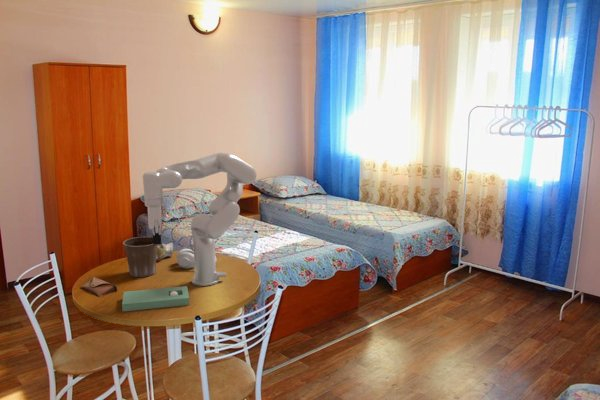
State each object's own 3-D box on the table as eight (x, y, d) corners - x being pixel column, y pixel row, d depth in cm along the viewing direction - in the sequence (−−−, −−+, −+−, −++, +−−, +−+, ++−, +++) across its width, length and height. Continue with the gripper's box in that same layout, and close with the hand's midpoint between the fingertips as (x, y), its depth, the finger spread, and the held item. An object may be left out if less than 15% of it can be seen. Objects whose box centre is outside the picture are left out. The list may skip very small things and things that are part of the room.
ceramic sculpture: (177, 241, 276) (153, 248, 265) (179, 256, 278) (155, 265, 267) (166, 237, 283) (141, 245, 272) (167, 253, 285) (143, 260, 274)
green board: (187, 292, 228) (186, 286, 227) (189, 304, 214) (189, 297, 214) (124, 298, 221) (123, 291, 220) (122, 311, 208) (121, 304, 207)
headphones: (176, 271, 254) (217, 273, 260) (178, 255, 253) (219, 258, 258) (175, 259, 271) (213, 262, 277) (176, 245, 270) (215, 247, 276)
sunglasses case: (77, 287, 233) (83, 273, 235) (90, 291, 238) (96, 277, 240) (100, 297, 222) (106, 282, 224) (113, 300, 228) (119, 286, 229)
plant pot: (154, 279, 244) (152, 246, 241) (120, 279, 244) (117, 245, 241) (164, 268, 260) (162, 236, 257) (131, 267, 260) (129, 236, 257)
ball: (177, 297, 222) (178, 289, 221) (177, 300, 219) (178, 293, 218) (169, 297, 221) (169, 289, 221) (169, 301, 218) (169, 293, 217)
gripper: (143, 198, 224) (147, 240, 228) (145, 206, 210) (149, 249, 214) (161, 197, 226) (164, 238, 230) (164, 204, 213) (168, 247, 216)
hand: (157, 243), depth 222 cm, fingers closed
